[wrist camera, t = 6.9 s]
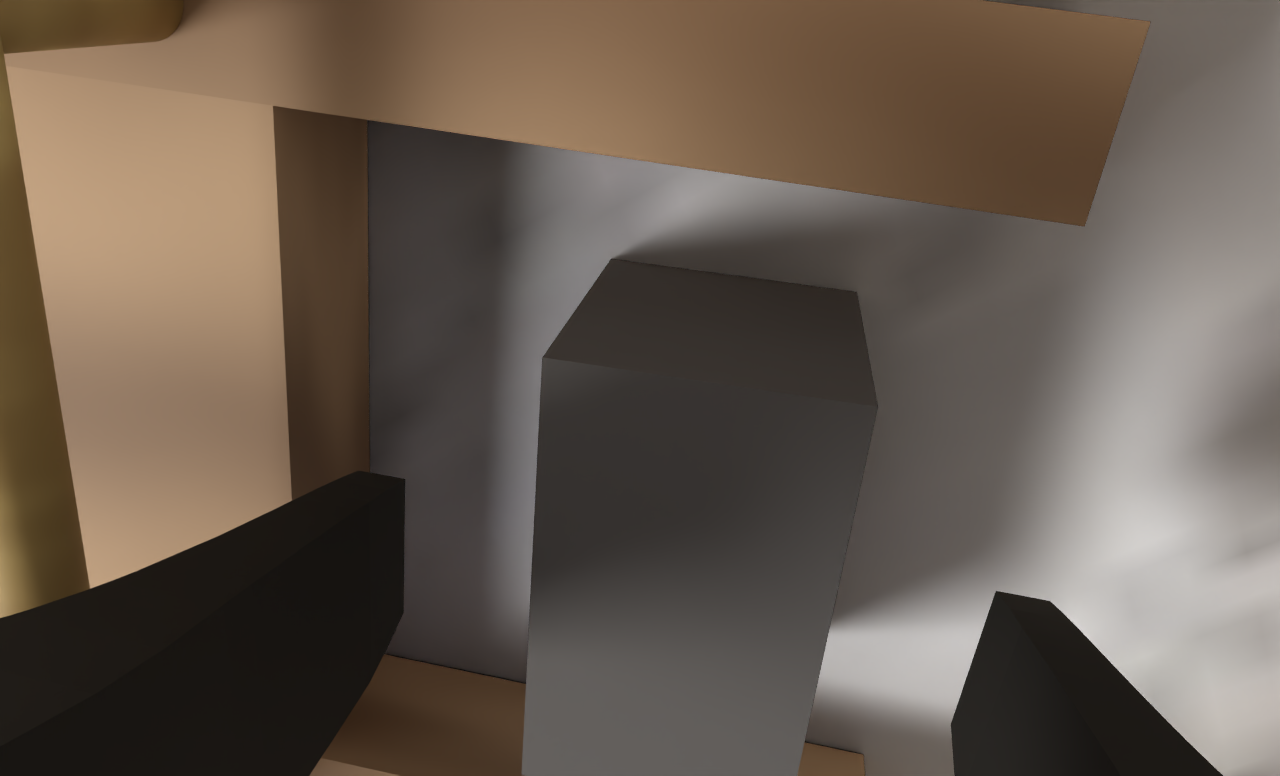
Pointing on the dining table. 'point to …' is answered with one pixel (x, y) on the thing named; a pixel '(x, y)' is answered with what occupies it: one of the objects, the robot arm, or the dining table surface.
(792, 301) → the grey rectangular block
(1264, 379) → the dining table surface
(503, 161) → the dining table surface
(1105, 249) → the dining table surface
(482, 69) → the tan wooden frame
